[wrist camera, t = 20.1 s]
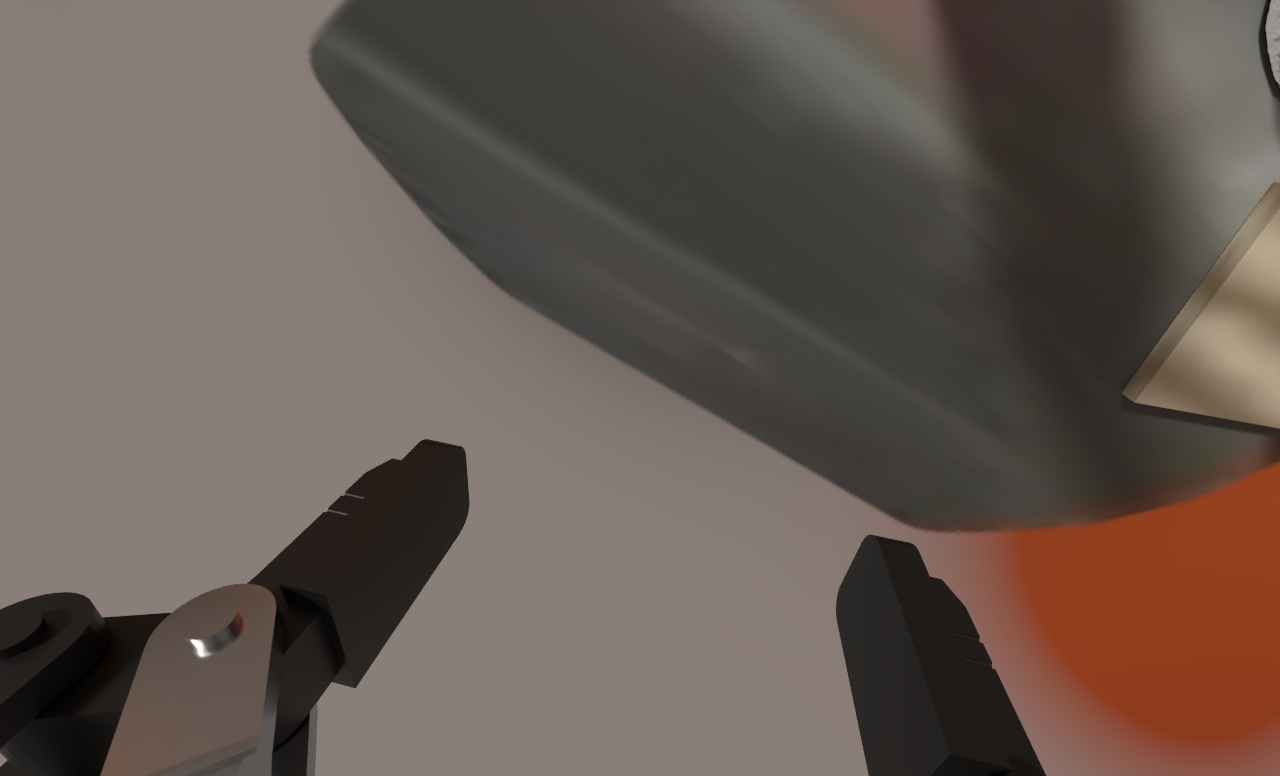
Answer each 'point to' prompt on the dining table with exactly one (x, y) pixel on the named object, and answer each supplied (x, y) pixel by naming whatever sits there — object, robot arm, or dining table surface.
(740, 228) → the dining table surface
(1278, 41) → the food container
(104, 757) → the robot arm
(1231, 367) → the coaster board
